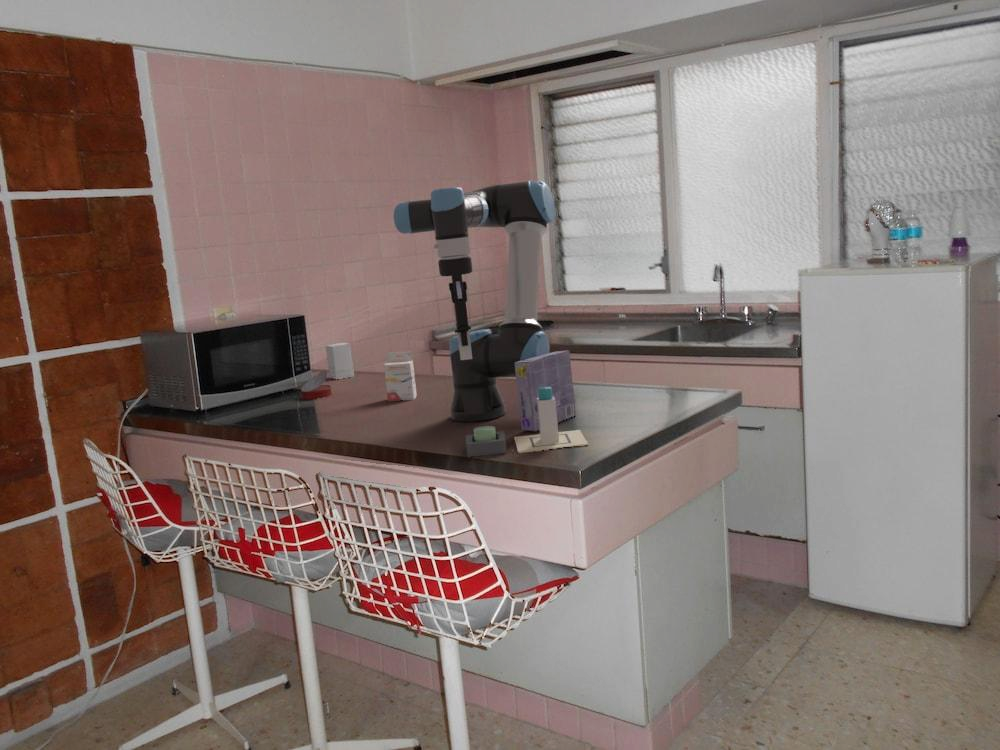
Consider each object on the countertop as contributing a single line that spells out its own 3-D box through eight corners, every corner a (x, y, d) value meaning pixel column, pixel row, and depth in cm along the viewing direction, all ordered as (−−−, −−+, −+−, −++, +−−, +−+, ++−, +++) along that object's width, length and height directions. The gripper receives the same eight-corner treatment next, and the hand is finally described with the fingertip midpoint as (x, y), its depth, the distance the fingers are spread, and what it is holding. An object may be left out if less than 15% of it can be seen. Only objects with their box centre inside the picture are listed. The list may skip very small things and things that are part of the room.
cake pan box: (563, 414, 237) (558, 348, 234) (579, 415, 234) (573, 348, 230) (519, 431, 222) (512, 361, 219) (535, 433, 219) (528, 362, 216)
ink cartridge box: (387, 402, 278) (381, 355, 275) (390, 398, 283) (385, 352, 280) (414, 399, 277) (408, 353, 274) (417, 396, 282) (412, 350, 279)
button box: (467, 447, 212) (465, 435, 211) (504, 443, 212) (503, 430, 212) (467, 457, 203) (466, 444, 203) (506, 452, 203) (505, 440, 203)
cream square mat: (514, 438, 216) (514, 436, 216) (580, 431, 216) (579, 429, 216) (518, 453, 202) (518, 451, 202) (588, 445, 202) (588, 443, 202)
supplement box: (355, 376, 333) (350, 343, 331) (336, 380, 329) (331, 346, 327) (347, 374, 339) (343, 342, 337) (329, 378, 336) (324, 345, 333)
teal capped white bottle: (540, 439, 211) (535, 387, 209) (557, 437, 211) (552, 385, 209) (542, 443, 207) (537, 390, 205) (559, 441, 207) (554, 388, 205)
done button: (475, 446, 210) (473, 427, 209) (496, 443, 210) (494, 425, 209) (475, 451, 205) (473, 432, 204) (497, 449, 205) (495, 430, 204)
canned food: (330, 410, 298) (326, 387, 291) (300, 410, 298) (295, 387, 292) (336, 389, 306) (332, 366, 300) (306, 389, 307) (302, 366, 301)
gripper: (437, 257, 209) (449, 356, 213) (438, 260, 196) (451, 366, 200) (469, 253, 209) (480, 352, 214) (472, 256, 196) (484, 361, 201)
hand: (466, 359), depth 207 cm, fingers closed
